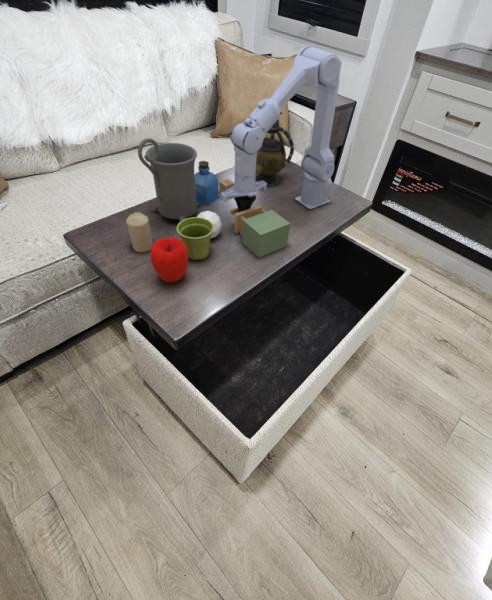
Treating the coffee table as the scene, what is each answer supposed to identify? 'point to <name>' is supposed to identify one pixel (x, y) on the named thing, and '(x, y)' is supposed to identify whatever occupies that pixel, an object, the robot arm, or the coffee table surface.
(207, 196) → the perfume bottle
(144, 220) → the candle
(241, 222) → the drawer
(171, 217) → the mug
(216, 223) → the geometric ball
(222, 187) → the block
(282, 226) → the sage green box
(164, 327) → the coffee table surface
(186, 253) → the apple
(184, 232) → the plant pot
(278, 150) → the teapot
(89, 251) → the coffee table surface
